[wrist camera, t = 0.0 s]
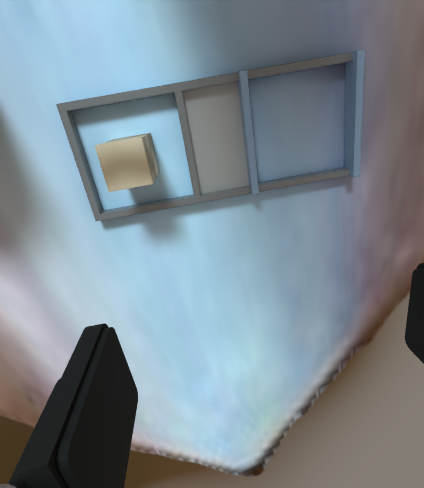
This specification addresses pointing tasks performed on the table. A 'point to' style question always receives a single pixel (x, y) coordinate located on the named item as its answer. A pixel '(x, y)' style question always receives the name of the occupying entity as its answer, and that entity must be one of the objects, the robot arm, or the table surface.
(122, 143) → the tan wooden block
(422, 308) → the robot arm
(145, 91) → the grey flat frame
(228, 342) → the table surface
